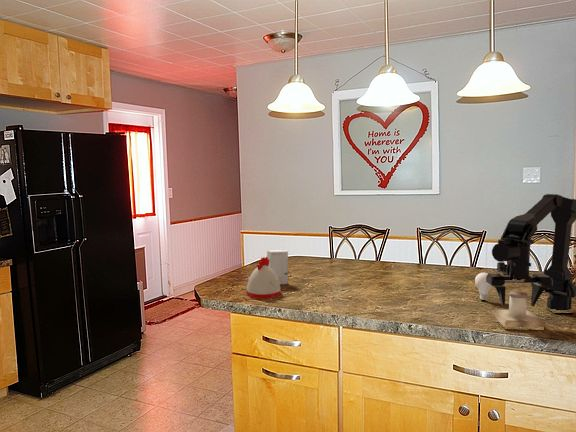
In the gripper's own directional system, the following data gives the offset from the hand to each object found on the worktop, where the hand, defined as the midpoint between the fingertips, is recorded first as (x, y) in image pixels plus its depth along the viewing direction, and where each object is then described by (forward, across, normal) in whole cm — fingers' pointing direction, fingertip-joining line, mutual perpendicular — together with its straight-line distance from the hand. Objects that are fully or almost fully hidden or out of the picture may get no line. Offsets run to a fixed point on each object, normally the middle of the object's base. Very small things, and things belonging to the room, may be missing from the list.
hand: (517, 305), depth 151 cm
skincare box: (+6, +83, -50) cm, 97 cm away
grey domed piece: (+6, +87, -33) cm, 93 cm away
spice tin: (+3, 0, 0) cm, 3 cm away
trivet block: (+6, 0, 0) cm, 6 cm away
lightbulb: (+6, +2, -26) cm, 27 cm away
